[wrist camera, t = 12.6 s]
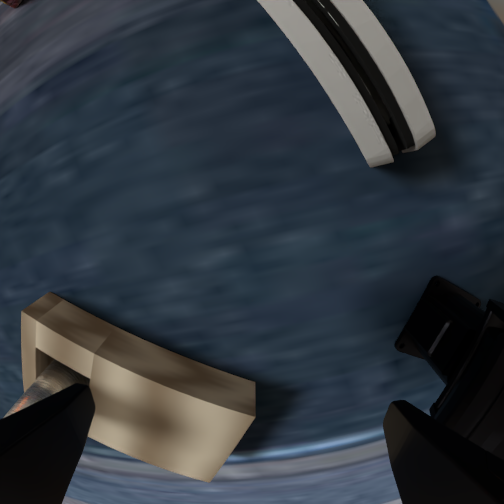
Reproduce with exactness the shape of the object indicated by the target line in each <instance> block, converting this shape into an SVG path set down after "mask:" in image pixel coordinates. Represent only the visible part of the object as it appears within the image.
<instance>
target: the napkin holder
mask: <svg viewBox="0 0 504 504" xmlns="http://www.w3.org/2000/svg"><path fill="white" fill-rule="evenodd" d="M257 1H258V2H259V3H260V4H261V5H262V7H263V8H264V9H265V10H266V11H267V13H268V14H269V15H270V16H271V17H272V19H273V20H274V21H275V22H276V24H277V25H278V26H279V27H280V29H281V30H282V31H283V32H284V34H285V35H286V36H287V38H288V39H289V40H290V41H291V43H292V44H293V45H294V47H295V48H296V49H297V51H298V52H299V54H300V55H301V56H302V58H303V59H304V60H305V62H306V63H307V65H308V66H309V68H310V69H311V70H312V72H313V73H314V75H315V76H316V78H317V79H318V81H319V82H320V84H321V85H322V87H323V88H324V90H325V91H326V93H327V94H328V96H329V97H330V99H331V101H332V102H333V104H334V105H335V107H336V109H337V110H338V112H339V113H340V115H341V117H342V118H343V120H344V122H345V123H346V125H347V127H348V129H349V130H350V132H351V134H352V135H353V137H354V139H355V141H356V143H357V144H358V146H359V148H360V150H361V152H362V153H363V155H364V157H365V159H366V161H367V163H368V165H369V166H370V168H371V167H375V166H379V165H384V164H388V163H392V162H394V159H393V157H392V156H394V155H396V154H398V153H399V151H401V150H402V152H403V153H406V152H412V151H416V150H418V149H420V148H421V147H422V146H424V145H425V144H426V143H428V142H429V141H430V140H432V139H433V138H434V137H435V135H436V132H435V128H434V124H433V121H432V119H431V116H430V114H429V112H428V109H427V107H426V105H425V102H424V100H423V98H422V95H421V93H420V91H419V89H418V87H417V85H416V83H415V81H414V79H413V77H412V75H411V73H410V71H409V69H408V67H407V66H406V64H405V62H404V60H403V59H402V57H401V55H400V54H399V52H398V50H397V49H396V47H395V45H394V44H393V42H392V41H391V39H390V38H389V36H388V35H387V33H386V32H385V30H384V29H383V27H382V26H381V24H380V23H379V21H378V20H377V18H376V17H375V16H374V14H373V13H372V12H371V10H370V9H369V8H368V7H367V5H366V4H365V3H364V2H363V0H257ZM329 31H330V32H329ZM332 35H333V36H332ZM335 39H336V40H337V41H336V40H335ZM337 42H338V43H339V44H340V45H339V44H338V43H337ZM340 46H341V47H342V48H341V47H340ZM342 49H343V50H344V51H345V53H346V54H347V55H346V54H345V53H344V51H343V50H342ZM347 56H348V57H349V58H348V57H347ZM349 59H350V60H349ZM387 124H388V125H387Z"/></svg>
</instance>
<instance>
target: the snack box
mask: <svg viewBox="0 0 504 504" xmlns="http://www.w3.org/2000/svg"><path fill="white" fill-rule="evenodd" d="M0 1H2V2H3V3H5V4H7V5H9V6H11V7H13V8H16V7H17V6H18V5H19V4H20V3H21V2H22V0H0Z"/></svg>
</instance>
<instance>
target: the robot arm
mask: <svg viewBox="0 0 504 504" xmlns="http://www.w3.org/2000/svg"><path fill="white" fill-rule="evenodd" d="M436 281H437V284H436V285H435V282H436ZM475 304H476V305H475ZM480 306H481V301H480V300H479V299H477V298H476V297H474V296H472V295H471V294H469V293H467V292H465V291H464V290H462V289H460V288H458V287H456V286H455V285H453V284H451V283H449V282H448V281H446V280H444V279H442V278H440V277H438V276H434V277H432V278H431V280H430V282H429V284H428V286H427V288H426V290H425V291H424V293H423V295H422V297H421V299H420V301H419V303H418V304H417V306H416V308H415V310H414V312H413V313H412V315H411V317H410V319H409V320H408V322H407V324H406V325H405V327H404V329H403V331H402V332H401V334H400V335H399V337H398V339H397V340H396V342H395V348H396V349H397V350H398V351H400V352H403V353H406V354H409V355H412V356H415V357H418V358H421V359H425V360H426V361H427V362H428V363H429V365H430V366H431V367H432V368H433V370H434V371H435V372H436V373H437V375H438V376H439V377H440V378H441V379H442V381H443V382H444V383H445V385H446V387H445V388H444V390H443V392H442V393H441V395H440V396H439V398H438V399H437V401H436V402H435V403H433V405H432V406H431V408H430V409H429V410H430V415H431V416H429V415H428V414H426V413H424V412H423V411H421V410H420V409H418V408H416V407H415V406H413V405H412V404H410V403H409V402H407V401H405V400H398V401H393V402H391V404H390V406H389V408H388V411H387V413H386V415H385V418H384V421H383V429H384V433H385V438H386V443H387V448H388V453H389V459H390V463H391V468H392V471H393V474H394V477H395V481H396V484H397V487H398V490H399V494H400V497H401V500H402V504H504V304H503V303H500V302H498V301H495V300H492V299H489V301H488V304H487V306H486V307H487V309H486V311H483V310H482V309H480ZM402 343H403V344H402ZM400 344H402V345H401V346H400ZM95 409H96V407H95V402H94V399H93V396H92V392H91V389H90V387H89V386H88V385H86V384H82V383H75V384H73V385H71V386H69V387H67V388H65V389H63V390H61V391H59V392H57V393H55V394H53V395H50V396H48V397H46V398H44V399H42V400H40V401H38V402H36V403H34V404H32V405H30V406H28V407H26V408H24V409H22V410H19V411H17V412H15V413H13V414H11V415H9V416H7V417H5V418H2V419H0V504H62V501H63V499H64V496H65V494H66V491H67V489H68V486H69V484H70V481H71V479H72V476H73V474H74V471H75V469H76V466H77V464H78V462H79V459H80V457H81V455H82V452H83V449H84V446H85V443H86V440H87V436H88V433H89V430H90V427H91V423H92V420H93V417H94V414H95Z"/></svg>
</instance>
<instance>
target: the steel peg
mask: <svg viewBox="0 0 504 504" xmlns="http://www.w3.org/2000/svg"><path fill="white" fill-rule="evenodd" d="M75 383H82V384H86V385H89V384H90V378H88V377H86V376H84V375H82V374H80V373H79V372H77V371H75V370H73V369H71V368H70V367H68V366H66V365H64V364H63V363H61V362H59V361H57V360H56V359H54V360H53V361H52V362H51V364H50V365H49V366H48V367H47V368H46V369H45V370H44V371H43V372H42V373H41V375H40V376H39V377H38V378H37V379H36V380H35V381H34V382H33V384H32V385H31V386H30V387H29V388H28V389H27V391H26V392H25V393H24V394H23V395H22V396H21V397H20V399H19V400H18V401H17V402H16V403H15V405H14V406H13V407H12V408H11V409H10V411H9V412H8V413H7V414H6V415H5V417H7V416H9V415H11V414H13V413H15V412H17V411H19V410H22V409H24V408H26V407H28V406H30V405H32V404H34V403H36V402H38V401H40V400H42V399H44V398H46V397H48V396H50V395H53V394H55V393H57V392H59V391H61V390H63V389H65V388H67V387H69V386H71V385H73V384H75ZM5 417H4V418H5Z"/></svg>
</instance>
